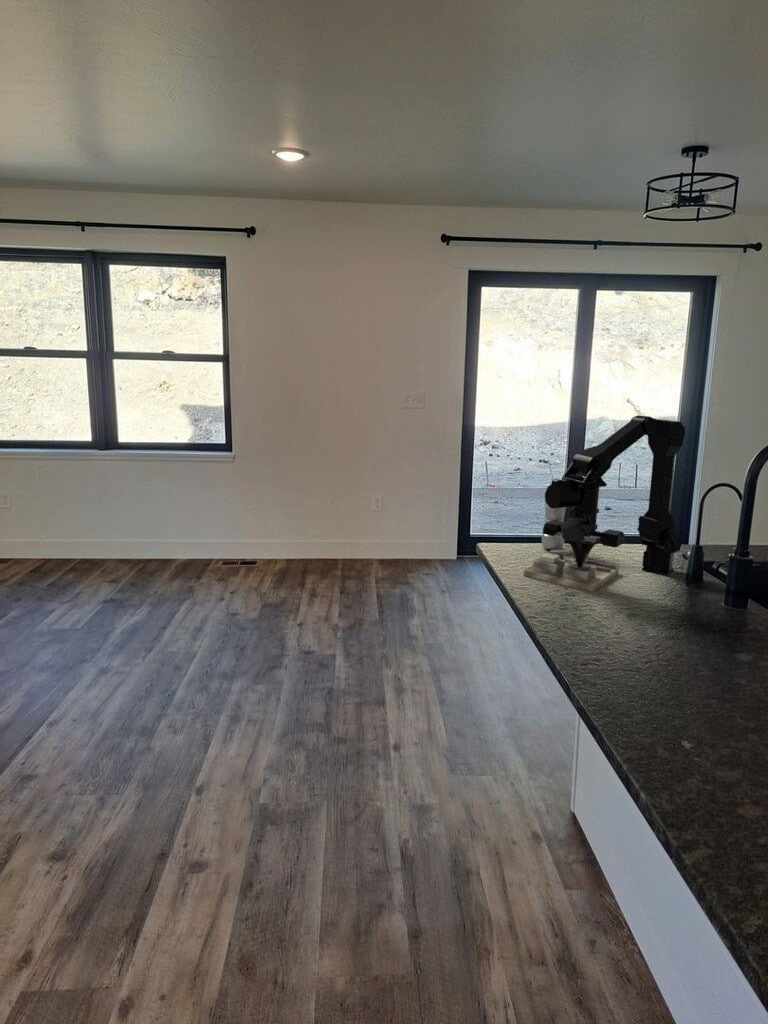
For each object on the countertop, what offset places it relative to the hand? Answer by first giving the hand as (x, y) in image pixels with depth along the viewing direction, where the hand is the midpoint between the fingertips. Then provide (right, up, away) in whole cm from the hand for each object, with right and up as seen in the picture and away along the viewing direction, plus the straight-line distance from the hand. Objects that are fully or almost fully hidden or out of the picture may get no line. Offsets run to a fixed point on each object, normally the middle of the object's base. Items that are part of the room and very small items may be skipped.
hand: (580, 566), depth 159 cm
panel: (0, -3, +7) cm, 8 cm away
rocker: (-1, +3, +15) cm, 15 cm away
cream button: (-6, 0, +5) cm, 8 cm away
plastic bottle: (+1, +2, +30) cm, 30 cm away
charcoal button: (0, -2, 0) cm, 2 cm away
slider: (+4, 0, +11) cm, 12 cm away
